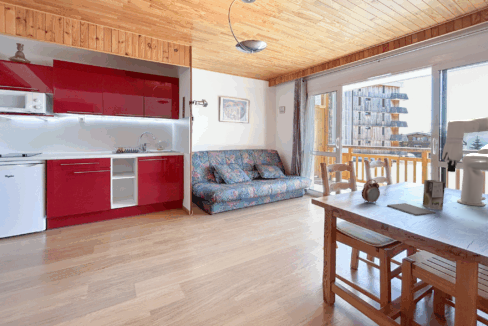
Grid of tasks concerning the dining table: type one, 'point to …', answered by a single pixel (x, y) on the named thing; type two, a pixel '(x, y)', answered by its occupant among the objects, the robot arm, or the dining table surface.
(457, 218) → the dining table surface
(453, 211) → the dining table surface
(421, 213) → the mat
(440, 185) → the coffee box
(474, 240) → the dining table surface
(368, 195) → the alarm clock
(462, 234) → the dining table surface
